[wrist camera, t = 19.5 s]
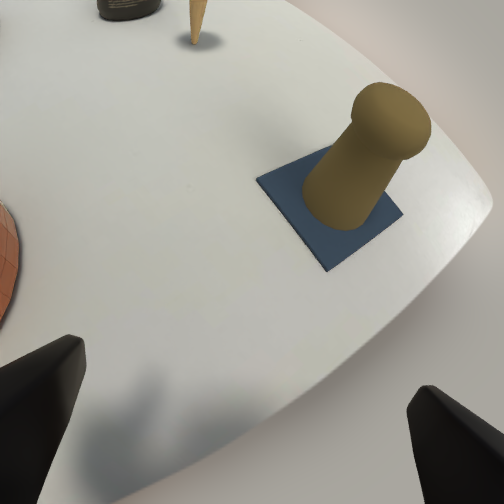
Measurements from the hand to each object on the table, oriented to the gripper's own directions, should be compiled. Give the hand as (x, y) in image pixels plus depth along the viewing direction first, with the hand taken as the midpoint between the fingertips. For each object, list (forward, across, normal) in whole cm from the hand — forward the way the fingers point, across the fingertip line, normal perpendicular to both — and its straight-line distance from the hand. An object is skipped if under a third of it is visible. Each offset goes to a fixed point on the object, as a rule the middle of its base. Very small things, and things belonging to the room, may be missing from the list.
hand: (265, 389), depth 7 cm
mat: (+20, -7, -2) cm, 21 cm away
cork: (+20, -7, -2) cm, 21 cm away
